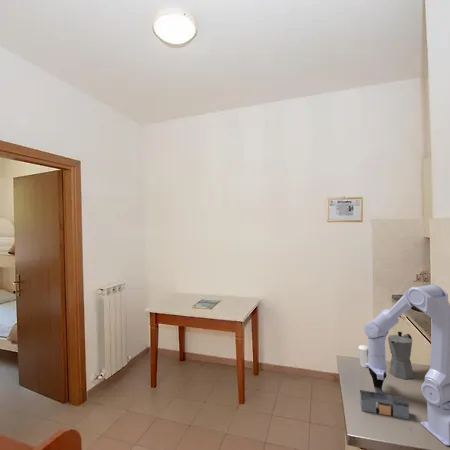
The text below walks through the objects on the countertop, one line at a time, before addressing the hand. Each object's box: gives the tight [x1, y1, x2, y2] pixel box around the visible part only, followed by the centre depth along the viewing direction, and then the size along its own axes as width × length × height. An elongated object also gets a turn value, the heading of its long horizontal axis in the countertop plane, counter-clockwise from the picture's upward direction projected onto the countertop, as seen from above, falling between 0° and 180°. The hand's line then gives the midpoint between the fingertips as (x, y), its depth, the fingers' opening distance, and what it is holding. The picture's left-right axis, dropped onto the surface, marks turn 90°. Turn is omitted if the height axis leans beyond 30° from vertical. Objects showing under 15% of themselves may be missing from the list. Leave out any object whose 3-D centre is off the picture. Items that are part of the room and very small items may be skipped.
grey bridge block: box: [359, 389, 410, 421], centre depth 95 cm, size 4×14×5 cm, turn 70°
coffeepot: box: [387, 331, 414, 380], centre depth 120 cm, size 15×9×18 cm, turn 121°
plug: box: [374, 387, 392, 416], centre depth 99 cm, size 12×3×3 cm, turn 161°
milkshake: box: [357, 344, 369, 369], centre depth 127 cm, size 5×5×10 cm
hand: (377, 389), depth 106 cm, fingers closed
